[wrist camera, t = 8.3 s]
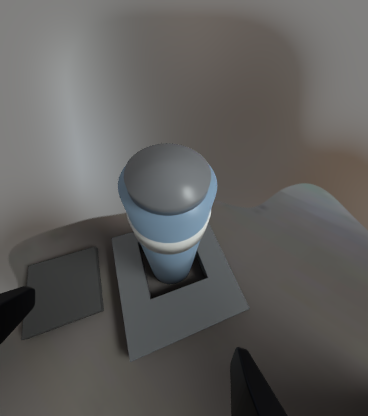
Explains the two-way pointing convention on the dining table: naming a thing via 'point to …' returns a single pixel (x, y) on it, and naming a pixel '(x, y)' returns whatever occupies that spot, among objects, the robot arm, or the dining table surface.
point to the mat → (63, 291)
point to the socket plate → (173, 297)
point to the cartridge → (168, 205)
